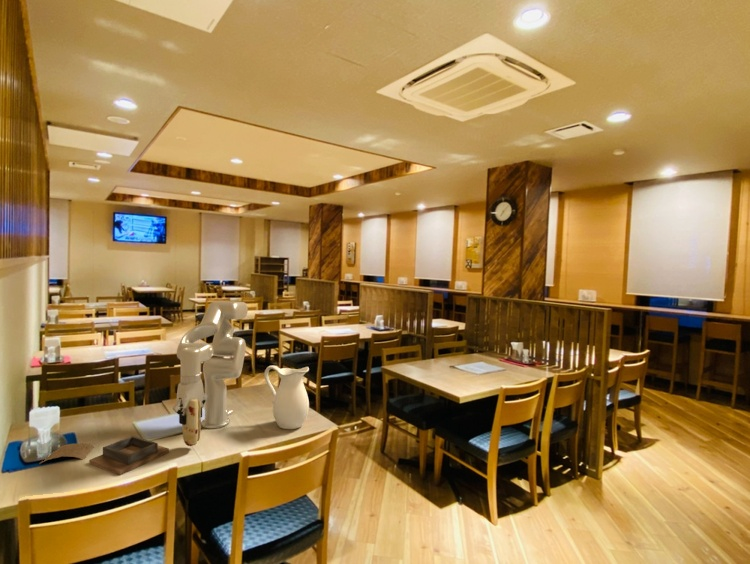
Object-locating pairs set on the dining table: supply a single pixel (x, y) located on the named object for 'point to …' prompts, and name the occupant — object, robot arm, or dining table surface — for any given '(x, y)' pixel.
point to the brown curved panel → (72, 451)
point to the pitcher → (289, 397)
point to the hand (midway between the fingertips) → (191, 420)
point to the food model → (192, 423)
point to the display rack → (128, 454)
